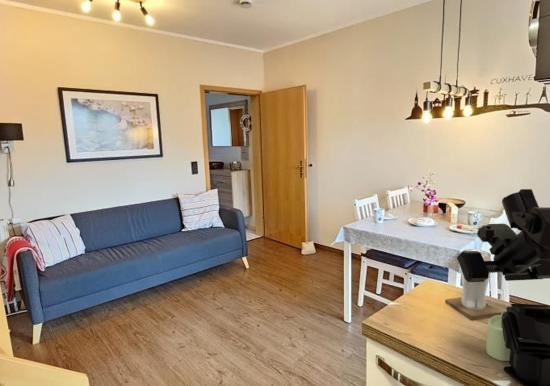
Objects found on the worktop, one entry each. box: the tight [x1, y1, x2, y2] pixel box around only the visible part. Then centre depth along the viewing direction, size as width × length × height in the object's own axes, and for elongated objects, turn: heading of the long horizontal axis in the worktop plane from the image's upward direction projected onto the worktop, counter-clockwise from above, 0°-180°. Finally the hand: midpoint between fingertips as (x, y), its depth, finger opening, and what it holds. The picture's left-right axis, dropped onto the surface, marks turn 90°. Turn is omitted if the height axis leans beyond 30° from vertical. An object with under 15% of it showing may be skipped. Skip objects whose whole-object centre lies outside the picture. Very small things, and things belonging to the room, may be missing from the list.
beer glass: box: [460, 248, 492, 311], centre depth 93 cm, size 7×7×15 cm
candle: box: [485, 314, 510, 362], centre depth 74 cm, size 5×5×8 cm
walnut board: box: [444, 296, 503, 321], centre depth 94 cm, size 10×9×1 cm
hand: (486, 279), depth 81 cm, fingers open, 9 cm apart
